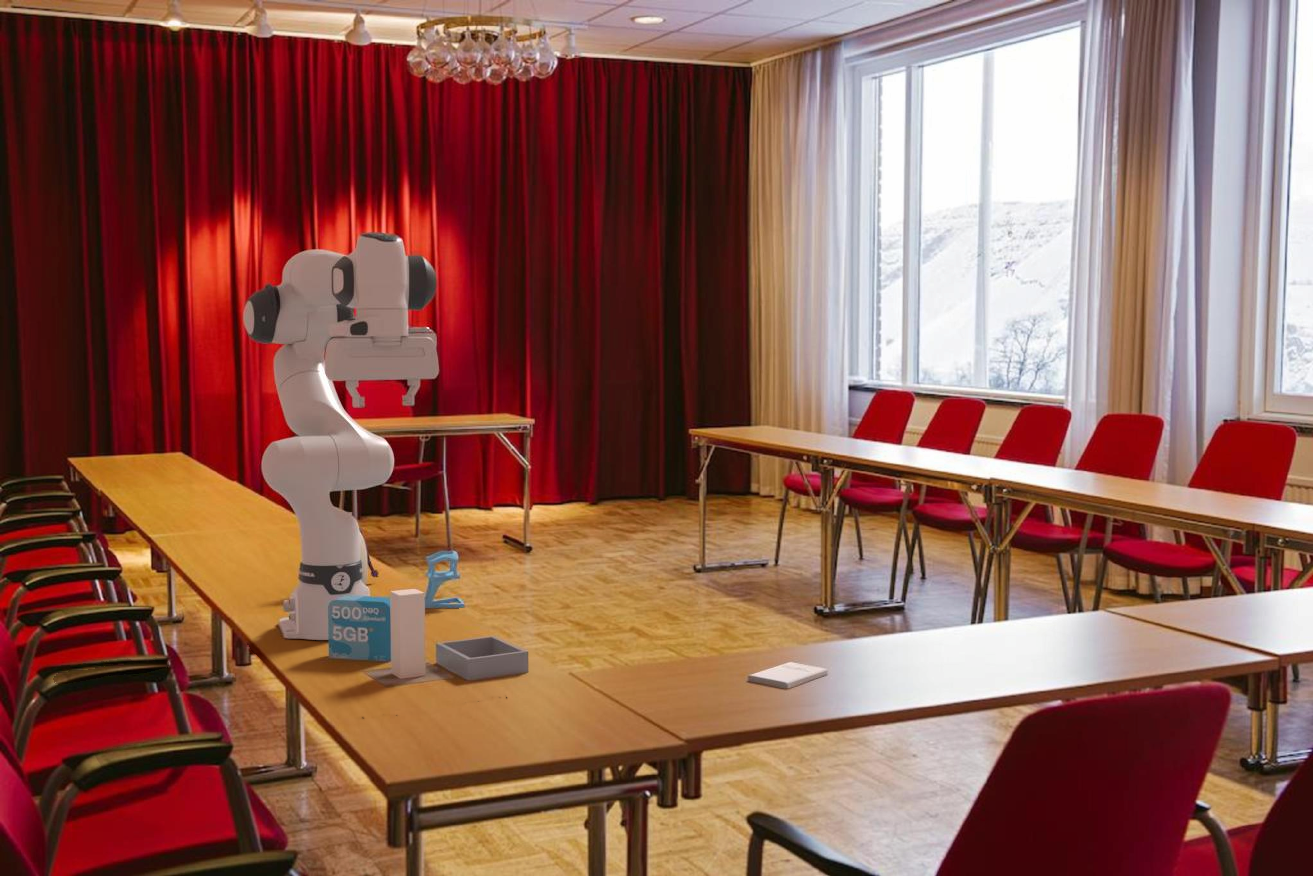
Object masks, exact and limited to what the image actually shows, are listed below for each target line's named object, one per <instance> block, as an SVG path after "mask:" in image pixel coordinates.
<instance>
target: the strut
mask: <svg viewBox="0 0 1313 876" xmlns="http://www.w3.org/2000/svg"><path fill="white" fill-rule="evenodd" d="M389 593H390V595H389V597H390V615H391V661H390V663H391V664H390V668H391V673H392V674H394V675H395V676H397V677H398V678H400V679H403V678H410V677H417V676H425V675H426V664H425V663H426V608H425V595H426V592H423V591H421V590H419V589H416V588H410V589H400V590H390V591H389Z"/></svg>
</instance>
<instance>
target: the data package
mask: <svg viewBox="0 0 1313 876" xmlns="http://www.w3.org/2000/svg"><path fill="white" fill-rule="evenodd" d="M328 639H329V640H328V658H329V659H343V660H357V661H358V660H360V661H361V660H362V661H377V662H391V615H390V596H371V595H370V596H352V595H345V596H342V597H339V598H337V599H335V600H332V601H331V602H330V603H329V605H328Z"/></svg>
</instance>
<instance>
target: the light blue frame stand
mask: <svg viewBox="0 0 1313 876" xmlns="http://www.w3.org/2000/svg"><path fill="white" fill-rule="evenodd" d="M425 560H426V561H427V562H426V563H427V564H428V569H427V571H425V577H427V579H428V582H427V583H428V584H427V587H426V591H425V609H465V605H466V603H465V602H464V601H463V600H462V599H461V598H460V597H457V596H456V597H448V598H441V599H435V600H434V598H435V596H436V594H437V592H438V590H439V588H440V586H441V585H442V584H444V583H446V582H449V581H452V580H460V579H461V574H459V573H458V571H457V568H458V563H459V554H458V552H457V551H456V550H455V551H454V550H453V549H452V550H441V551H438V552H436V553H434V554H432V555H430V556H429V555H428V556H426V557H425ZM445 561H446V562H449V570H443V571H442V570H440V571H436V568H435V565H436V564H438V563H441V562H445ZM447 602H449V603H447Z"/></svg>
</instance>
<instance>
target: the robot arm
mask: <svg viewBox="0 0 1313 876" xmlns="http://www.w3.org/2000/svg"><path fill="white" fill-rule="evenodd" d="M437 288H438V280H437V274H436V271H435V269H434V267H433V265H431V263H430V262H429V261H428V260H427V259H426V258H425V257H424V256H422V255H421V254H411V255H410V254H407V255H406V250H405V245H404V241H403V238H401V237H400V236H399V235H396V234H393V233H385V232H371V231H370V232H364V233H362V234H360V235H358V237H357V241H356V247H355V249H354V250H352V252H350V253H349V254H347V255H346V254H343V253H339V252H335V251H332V250H331V251H330V250H326V249H307V250H304V251H300V252H298V253H297V254H295V255H293V256H291V258H290V259H288V261H287V262H286V264H285V265H284V267H283V269H282V277H281V283H280V284H278V285H274V286H273V285H272V283H269V282H268V283H266V284H265V285H264V287H263V288H262V289H260V290H257V291H255V292H253V293H252V295H251V296H249V298H248V299H246V301H245V304H244V309H243V315H242V317H243V318H242V319H243V325H244V327H245V331H246V334H247V335H248V337H249V338H250V339H251V341H252V342H256V343H260V344H267V345H270V344H271V343H272V344H280V345H282V346H281V347H280V348H279V349H278V350H277V351H276V352H275V355H274V358H273V377H274V384H275V386H276V391H277V395H278V399H279V402H280V405H281V408H282V412H283V413H282V414H283V416H284V419H285V422H286V425H287V426H288V427H289V429H290V430H291V431H292V432H293V433H294V434H296V435H297V436H292V437H287V438H283V439H280V440H279V439H278V440H275V441H272V442H271V443H269V445H268V446H267V448H266V449H265V450H264V452H263V455H262V459H261V474H262V476H263V478H264V481H265V482H266V483H267V485H268V487H270V488H271V489H272V490H273V491H275V492H276V493H277V494H279V495H281V497H283V498H284V499H285V500H286V502H287V503H288V504H289V506H290V507H291V508H292V510H293V512H294V514H295V516H296V519H297V522H298V526H299V533H300V544H301V545H300V547H301V562H300V563H299V568H298V580H299V581H298V584H297V585H296V587H295V589H294V590H293V592H292V593H291V594H290V597H289V599H285V600H283V602H282V606H283V607H282V609H283V612H284V613H287V612H288V613H289V616H287V617H283V618H280V619H279V620H278V627H279V629H280V631H281V634H282V636H283V638H284V639H301V640H302V639H303V640H312V641H313V640H314V641H315V640H316V641H329V639H328V605H329V603H330V602H331V601H332V600H335V599H337V598H339V597H342V596H345V595H352V596H371V593H370V592H371V591H370V588H369V587H368V586H367V584H366V585H365V584H363V582H362V581H361V579H362V571H363V567H362V561H361V560H360V546H359V528H360V525H359V523H358V521H357V519H356V518H355V517H354V516H353V514H352V515H351V514H349V513H348V512H349V511H346V510H344V509H341V508H340V507H336V506H334V505H333V503H332V501H331V497H330V493H331V492H340V491H354V490H355V491H356V490H357V491H358V490H366V489H369V488H373V487H376V486H377V487H378V486H380V485H382V484H383V485H385V483H386V482H387V481H389V479H390V477H391V476H392V473H393V471H394V467H395V457H394V452H393V449H392V447H391V444H389V443H388V441H387V440H386V439H385V438H384V437H382V436H379V435H377V434H375V433H373V432H370V431H369V430H368V429H366V428H365V427H362V425H360V424H359V423H357V422H356V420H354V418H352V417H351V415H349V413H347V411H346V410H345V409H344V407H343V405H342V403H341V401H340V399H339V398H340V397H339V396H338V393H337V391H336V388H335V384H334V381H335V382H343V381H344V382H345V388H346V390H347V391H348V393H349V395H350V396H351V397H352V400H351V401H352V407H353V408H364V407H365V406H366V403H365V401H366V400H365V396H361V395H360V393H359V392H358V390H357V388H359V381H386V380H387V381H389V380H391V381H393V380H395V381H396V380H397V381H398V380H407V386H409V389H408V390H407V392H406V395H402V397H401V398H402V403H401V404H402V405H403V406H406V407H407V406H409V407H411V406H412V407H413V406H414V405H415V396H416V394H417V392H418V391H419V389H420V387H421V380H434V379H436V378H437V377H438V375H439V373H440V367H439V366H440V365H439V357H438V352H437V345H438V342H437V341H438V340H437V333H435V331H433V329H430V327H427V326H421V327H420V326H419V327H418V326H409V311H421V310H423V309H424V308H425V307H426V306H427V305H428V304H429V303H431V302H432V300H433V298H434V297H435V295H436V292H437ZM354 309H355V313H354Z"/></svg>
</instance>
